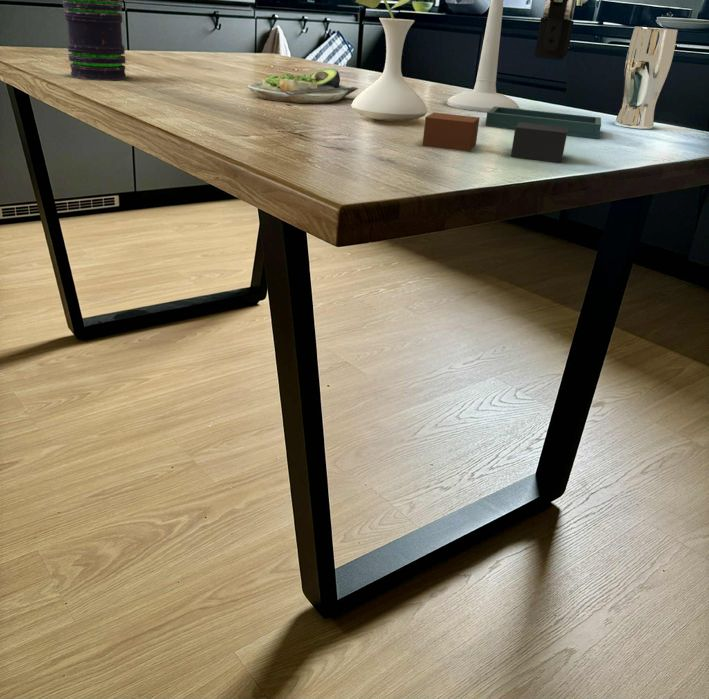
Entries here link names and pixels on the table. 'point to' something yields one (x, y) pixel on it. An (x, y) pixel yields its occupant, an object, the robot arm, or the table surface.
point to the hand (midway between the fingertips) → (551, 56)
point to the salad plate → (302, 87)
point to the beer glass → (645, 75)
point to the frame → (544, 120)
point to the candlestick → (486, 70)
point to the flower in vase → (390, 77)
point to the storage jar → (95, 39)
